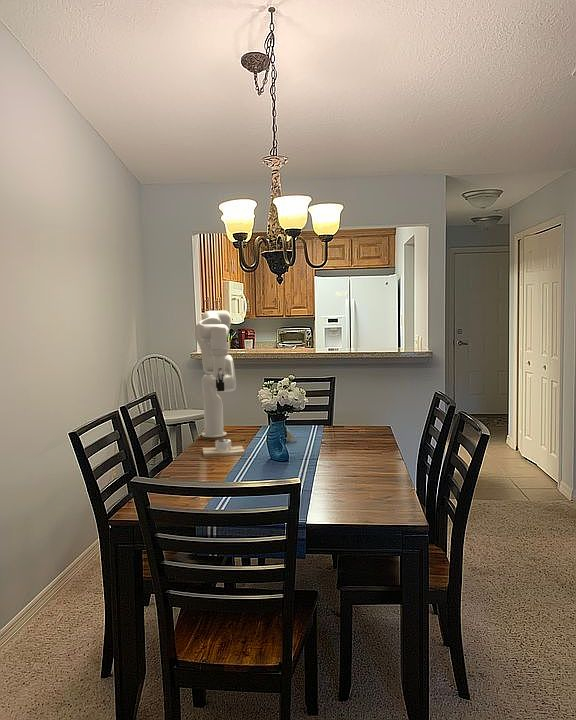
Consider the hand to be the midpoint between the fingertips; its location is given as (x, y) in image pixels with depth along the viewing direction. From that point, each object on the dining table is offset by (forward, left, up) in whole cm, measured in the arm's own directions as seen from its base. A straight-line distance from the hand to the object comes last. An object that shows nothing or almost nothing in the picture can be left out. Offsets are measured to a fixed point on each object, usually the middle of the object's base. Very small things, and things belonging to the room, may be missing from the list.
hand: (220, 389), depth 301 cm
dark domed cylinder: (+11, 0, -26) cm, 28 cm away
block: (+11, 0, -27) cm, 29 cm away
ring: (+11, 0, -26) cm, 28 cm away
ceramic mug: (-6, +31, -28) cm, 42 cm away
